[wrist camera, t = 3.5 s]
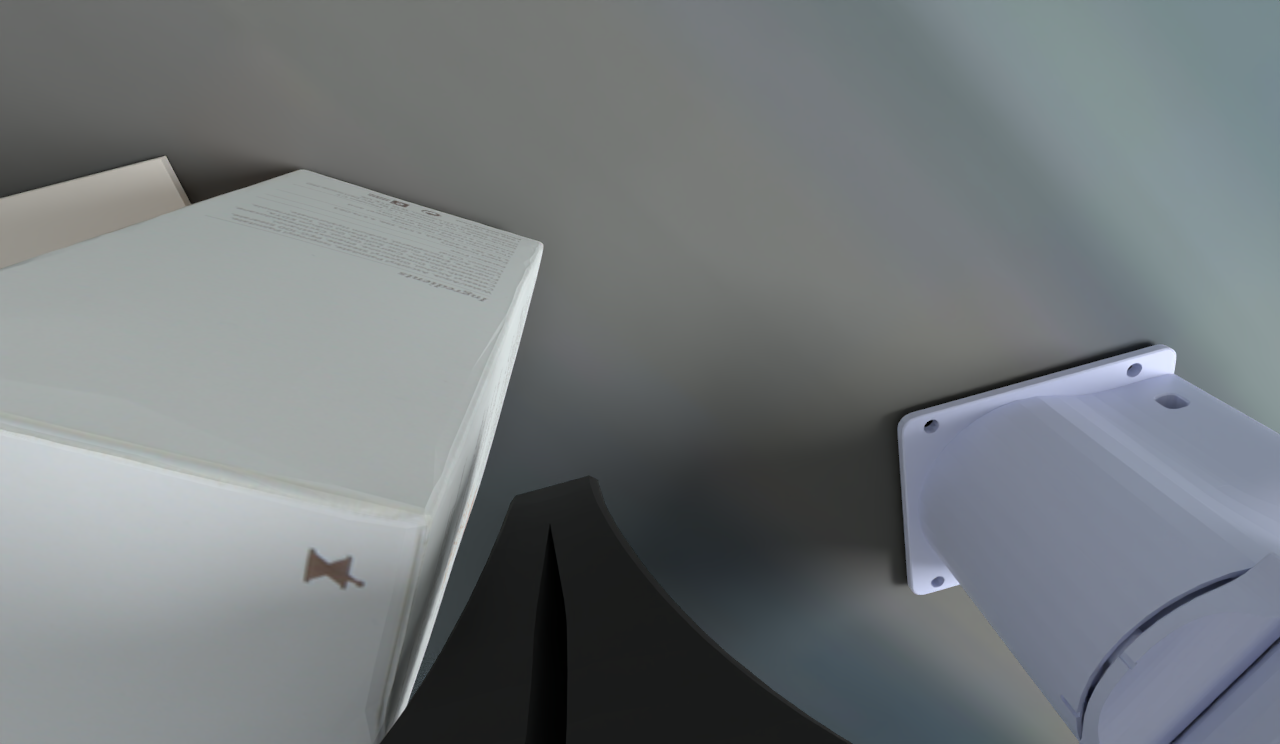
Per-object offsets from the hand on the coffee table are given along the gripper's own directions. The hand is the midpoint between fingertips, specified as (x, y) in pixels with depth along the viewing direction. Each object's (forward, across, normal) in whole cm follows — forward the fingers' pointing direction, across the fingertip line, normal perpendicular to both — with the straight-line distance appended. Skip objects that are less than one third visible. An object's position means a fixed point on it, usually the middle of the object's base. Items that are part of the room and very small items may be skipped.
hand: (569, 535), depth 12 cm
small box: (+10, +4, 0) cm, 11 cm away
